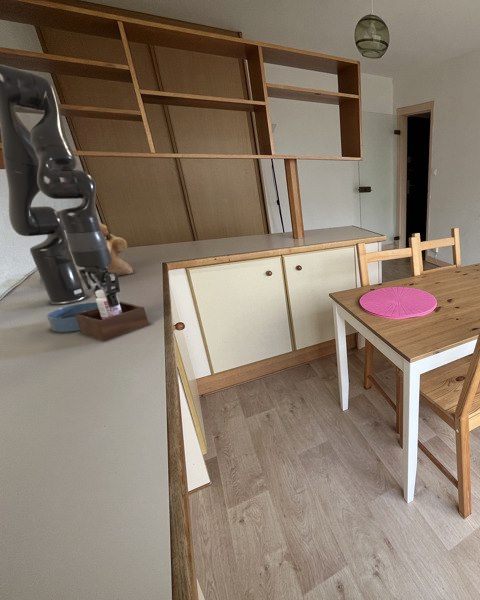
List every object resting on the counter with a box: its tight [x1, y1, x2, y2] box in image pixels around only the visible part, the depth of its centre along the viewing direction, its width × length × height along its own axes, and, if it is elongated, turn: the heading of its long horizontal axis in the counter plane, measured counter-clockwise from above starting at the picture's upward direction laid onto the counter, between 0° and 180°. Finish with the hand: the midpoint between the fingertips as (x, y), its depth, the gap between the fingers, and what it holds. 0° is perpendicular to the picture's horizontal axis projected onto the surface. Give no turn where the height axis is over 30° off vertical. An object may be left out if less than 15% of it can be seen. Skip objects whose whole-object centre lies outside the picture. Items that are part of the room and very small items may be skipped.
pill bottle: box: [94, 289, 122, 319], centre depth 92 cm, size 5×5×8 cm
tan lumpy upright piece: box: [56, 210, 134, 277], centre depth 138 cm, size 16×22×30 cm
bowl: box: [46, 302, 98, 333], centre depth 97 cm, size 13×13×4 cm
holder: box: [75, 300, 150, 342], centre depth 94 cm, size 12×12×6 cm
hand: (108, 304), depth 92 cm, fingers closed on pill bottle, 4 cm apart
